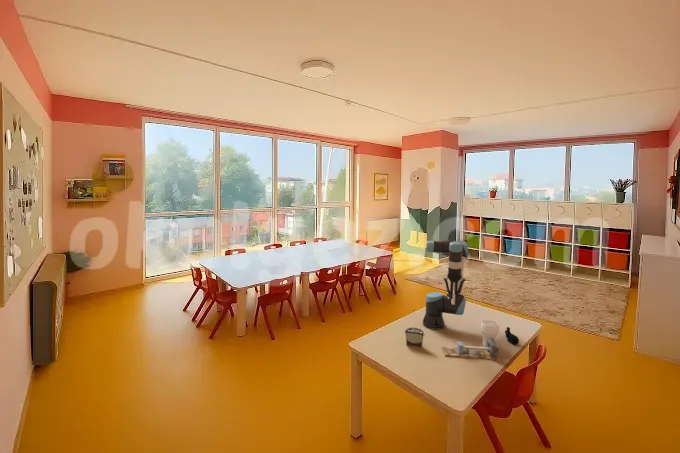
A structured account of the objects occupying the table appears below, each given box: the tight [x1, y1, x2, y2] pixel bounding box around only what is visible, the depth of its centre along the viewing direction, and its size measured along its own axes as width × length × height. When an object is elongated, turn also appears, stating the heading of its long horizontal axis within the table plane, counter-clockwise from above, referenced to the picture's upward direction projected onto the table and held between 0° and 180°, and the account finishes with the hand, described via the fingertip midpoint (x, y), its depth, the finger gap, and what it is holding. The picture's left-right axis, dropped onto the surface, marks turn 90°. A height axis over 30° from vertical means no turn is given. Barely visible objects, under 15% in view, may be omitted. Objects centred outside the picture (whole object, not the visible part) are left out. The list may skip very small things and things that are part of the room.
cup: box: [480, 319, 500, 347], centre depth 201 cm, size 11×11×15 cm
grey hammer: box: [456, 340, 490, 355], centre depth 191 cm, size 19×7×5 cm, turn 82°
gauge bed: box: [441, 339, 500, 360], centre depth 192 cm, size 30×9×8 cm, turn 82°
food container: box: [404, 327, 426, 349], centre depth 204 cm, size 12×6×10 cm, turn 71°
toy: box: [504, 326, 520, 346], centre depth 209 cm, size 15×5×7 cm, turn 175°
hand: (453, 303), depth 201 cm, fingers closed
